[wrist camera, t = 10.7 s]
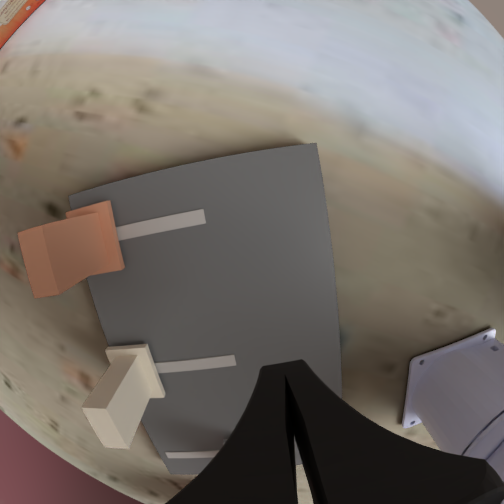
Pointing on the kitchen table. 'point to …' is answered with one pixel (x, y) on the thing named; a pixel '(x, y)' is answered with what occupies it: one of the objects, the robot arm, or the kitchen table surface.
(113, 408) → the cream upright block
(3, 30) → the cracker box
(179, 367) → the switch panel
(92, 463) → the kitchen table surface
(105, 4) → the kitchen table surface
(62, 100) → the kitchen table surface
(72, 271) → the terracotta paddle
